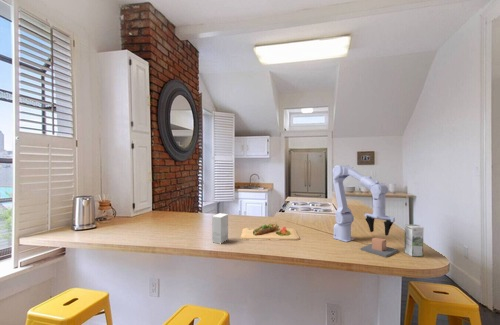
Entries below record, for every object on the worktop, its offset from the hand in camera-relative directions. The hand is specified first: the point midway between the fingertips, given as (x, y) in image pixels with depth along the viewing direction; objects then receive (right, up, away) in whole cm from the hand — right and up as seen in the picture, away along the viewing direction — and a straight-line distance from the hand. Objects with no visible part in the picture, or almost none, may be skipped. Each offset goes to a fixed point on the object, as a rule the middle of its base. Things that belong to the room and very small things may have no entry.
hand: (379, 233), depth 130 cm
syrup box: (+14, -9, -6) cm, 18 cm away
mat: (0, -9, 0) cm, 9 cm away
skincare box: (-84, -10, +16) cm, 86 cm away
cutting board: (-55, -10, +30) cm, 63 cm away
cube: (0, -8, 0) cm, 8 cm away
